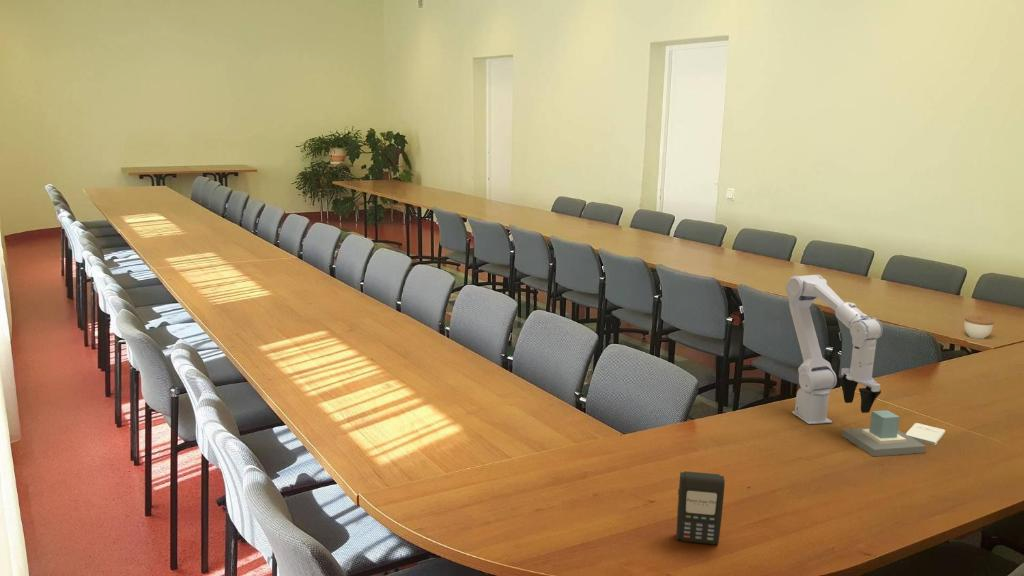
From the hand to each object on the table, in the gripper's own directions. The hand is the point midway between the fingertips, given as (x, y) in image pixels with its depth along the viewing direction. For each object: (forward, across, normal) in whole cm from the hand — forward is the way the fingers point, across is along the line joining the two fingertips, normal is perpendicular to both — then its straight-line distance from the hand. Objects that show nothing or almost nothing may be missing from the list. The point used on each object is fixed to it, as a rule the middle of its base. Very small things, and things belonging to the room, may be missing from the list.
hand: (856, 407), depth 220 cm
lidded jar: (+10, -90, +122) cm, 152 cm away
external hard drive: (+10, +1, +23) cm, 25 cm away
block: (+6, +5, +6) cm, 10 cm away
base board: (+9, +5, +6) cm, 12 cm away
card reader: (+10, +44, -68) cm, 82 cm away
